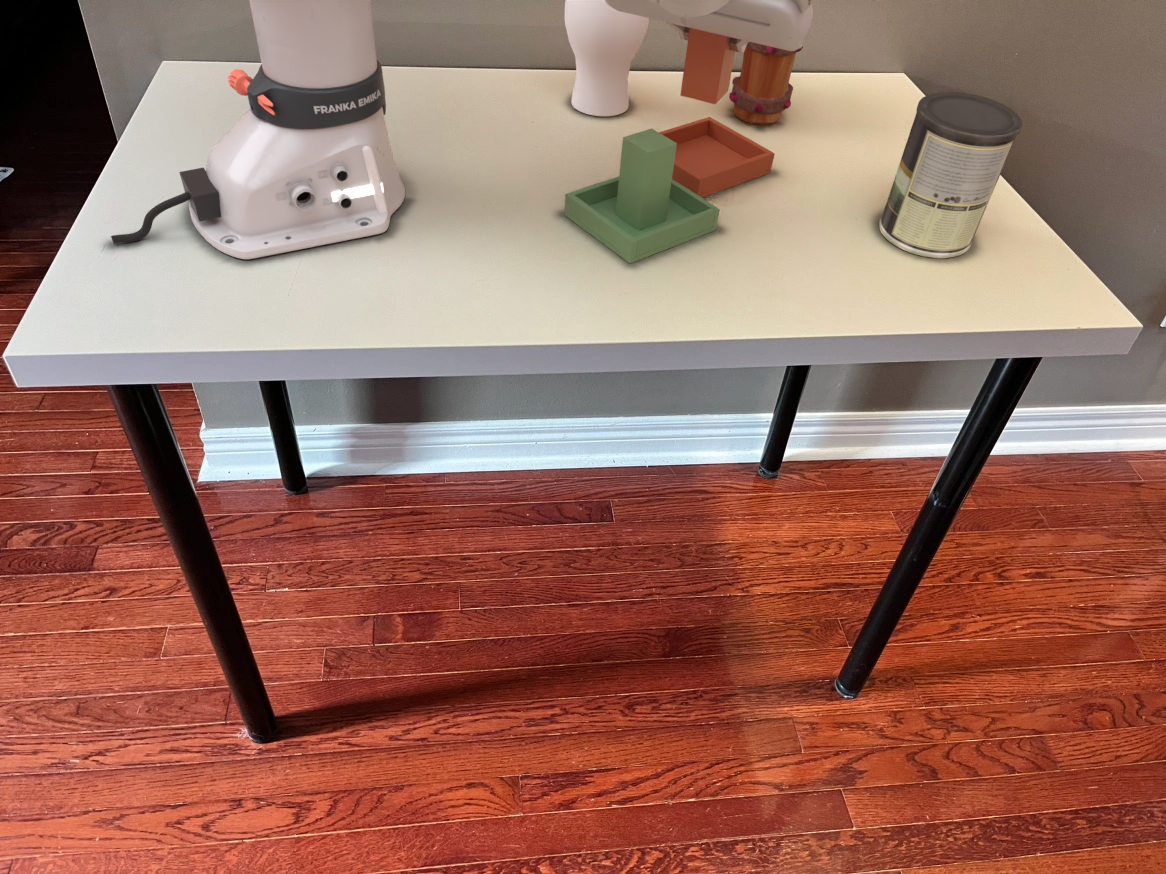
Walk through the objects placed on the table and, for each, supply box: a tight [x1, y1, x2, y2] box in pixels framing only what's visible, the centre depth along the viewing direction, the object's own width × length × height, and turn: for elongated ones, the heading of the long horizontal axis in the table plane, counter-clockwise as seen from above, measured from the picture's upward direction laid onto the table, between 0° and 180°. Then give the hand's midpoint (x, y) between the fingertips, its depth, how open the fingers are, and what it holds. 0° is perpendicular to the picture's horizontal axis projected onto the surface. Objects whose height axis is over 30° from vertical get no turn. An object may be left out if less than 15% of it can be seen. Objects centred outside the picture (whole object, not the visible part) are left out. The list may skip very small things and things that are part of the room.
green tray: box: [563, 175, 720, 265], centre depth 96 cm, size 12×11×3 cm
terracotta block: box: [679, 28, 736, 105], centre depth 90 cm, size 4×4×10 cm
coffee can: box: [878, 91, 1023, 259], centre depth 94 cm, size 10×10×14 cm
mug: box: [728, 42, 804, 125], centre depth 115 cm, size 15×8×15 cm, turn 168°
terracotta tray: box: [658, 116, 776, 199], centre depth 106 cm, size 12×11×3 cm
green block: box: [616, 128, 677, 231], centre depth 93 cm, size 4×4×9 cm
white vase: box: [563, 0, 650, 117], centre depth 113 cm, size 11×11×15 cm
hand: (714, 39), depth 90 cm, fingers closed on terracotta block, 4 cm apart
